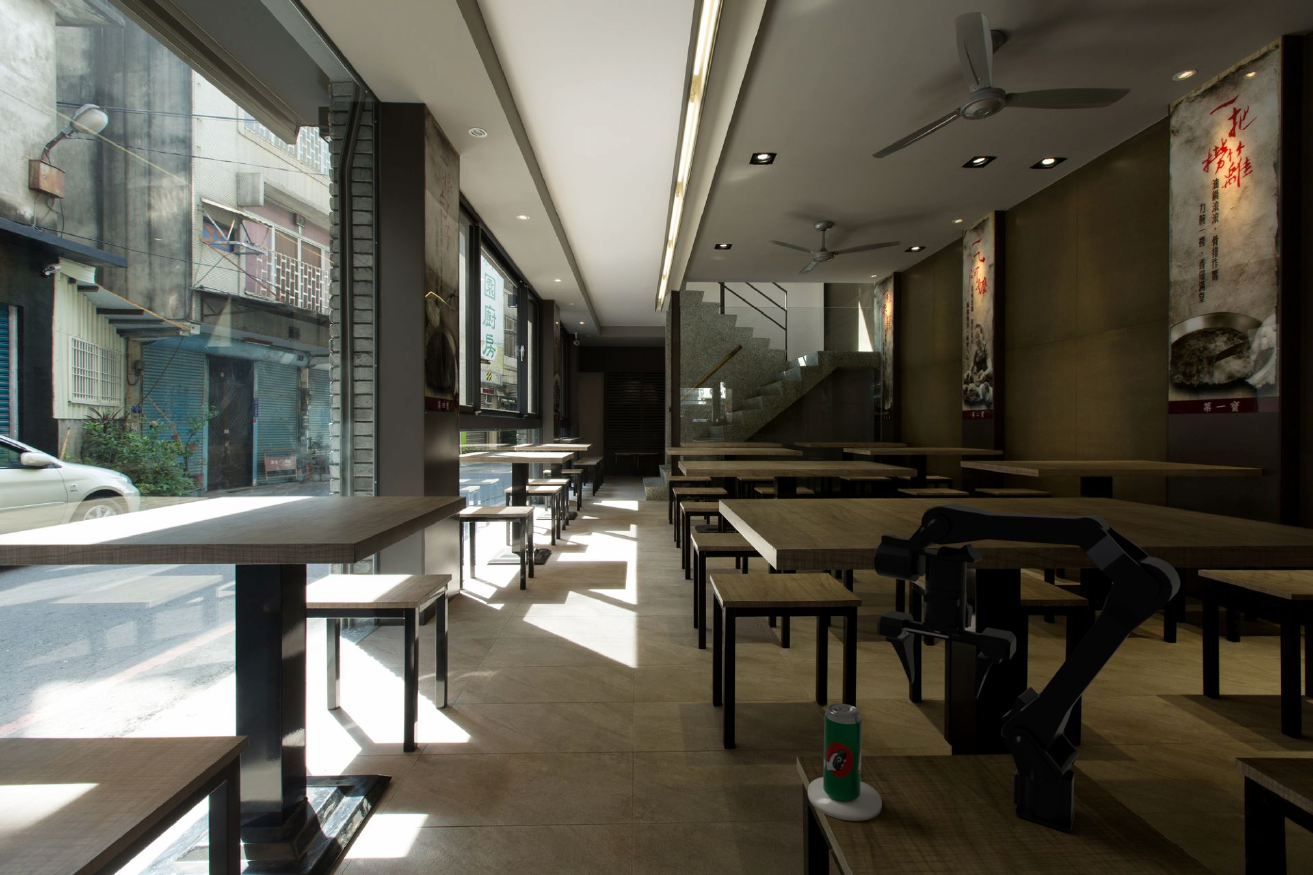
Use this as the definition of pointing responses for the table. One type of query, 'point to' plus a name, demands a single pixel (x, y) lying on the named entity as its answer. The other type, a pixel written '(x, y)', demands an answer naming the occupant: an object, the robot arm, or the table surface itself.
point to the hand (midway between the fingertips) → (942, 689)
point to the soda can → (842, 752)
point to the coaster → (846, 803)
